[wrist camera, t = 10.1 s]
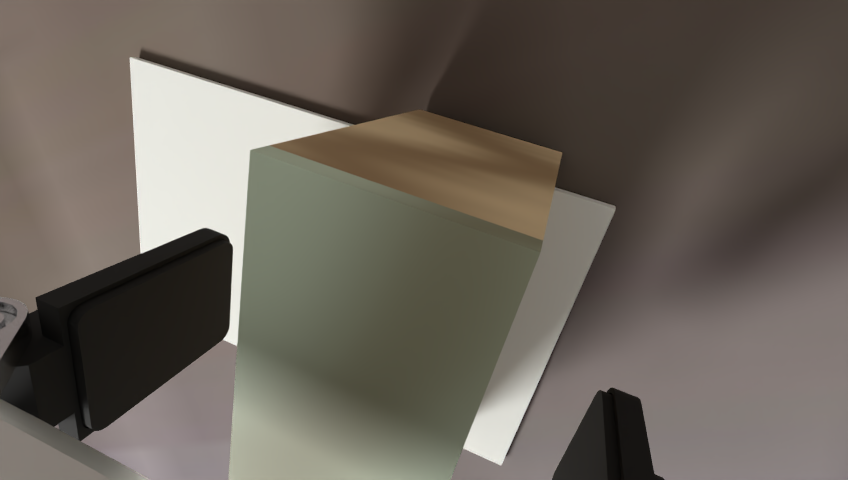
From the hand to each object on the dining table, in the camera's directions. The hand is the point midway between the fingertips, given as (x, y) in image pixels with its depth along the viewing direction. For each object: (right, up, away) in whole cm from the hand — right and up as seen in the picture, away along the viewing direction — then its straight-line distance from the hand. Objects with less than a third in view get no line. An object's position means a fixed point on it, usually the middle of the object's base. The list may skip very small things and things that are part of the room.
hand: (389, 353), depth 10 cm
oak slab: (+1, +1, +3) cm, 4 cm away
